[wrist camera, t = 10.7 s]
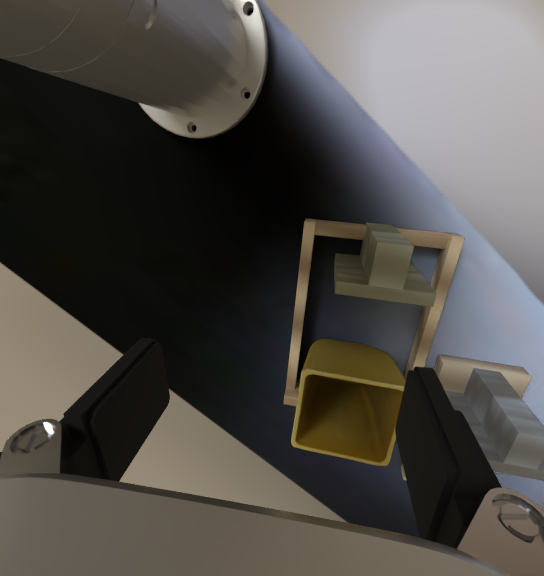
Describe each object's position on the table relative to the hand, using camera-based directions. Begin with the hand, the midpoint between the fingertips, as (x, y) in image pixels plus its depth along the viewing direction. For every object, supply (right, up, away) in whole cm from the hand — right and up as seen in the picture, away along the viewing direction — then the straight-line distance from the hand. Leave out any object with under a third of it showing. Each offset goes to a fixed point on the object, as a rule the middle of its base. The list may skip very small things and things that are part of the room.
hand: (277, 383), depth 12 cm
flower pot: (+8, -4, +23) cm, 25 cm away
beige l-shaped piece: (+20, -12, +23) cm, 33 cm away
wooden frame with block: (+9, 0, +21) cm, 22 cm away
